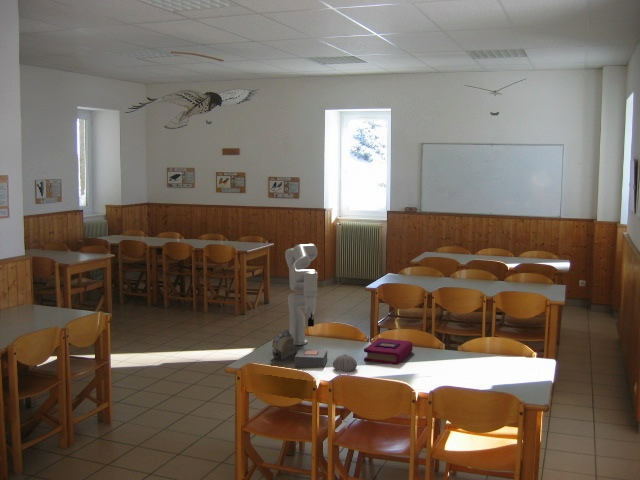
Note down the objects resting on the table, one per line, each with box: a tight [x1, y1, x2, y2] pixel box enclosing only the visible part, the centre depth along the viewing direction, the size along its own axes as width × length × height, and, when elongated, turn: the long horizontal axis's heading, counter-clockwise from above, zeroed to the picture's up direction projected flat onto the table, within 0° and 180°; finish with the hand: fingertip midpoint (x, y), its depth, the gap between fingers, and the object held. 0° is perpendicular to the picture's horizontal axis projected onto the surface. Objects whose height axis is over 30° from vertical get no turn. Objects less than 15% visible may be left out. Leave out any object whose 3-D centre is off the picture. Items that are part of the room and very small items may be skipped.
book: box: [363, 337, 414, 366], centre depth 386 cm, size 21×28×8 cm
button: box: [304, 351, 318, 355], centre depth 375 cm, size 7×7×3 cm
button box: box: [294, 348, 328, 368], centre depth 375 cm, size 16×16×6 cm
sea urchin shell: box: [332, 354, 358, 373], centre depth 363 cm, size 13×14×8 cm
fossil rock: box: [271, 329, 296, 362], centre depth 388 cm, size 21×10×15 cm, turn 158°
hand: (310, 326), depth 373 cm, fingers closed
